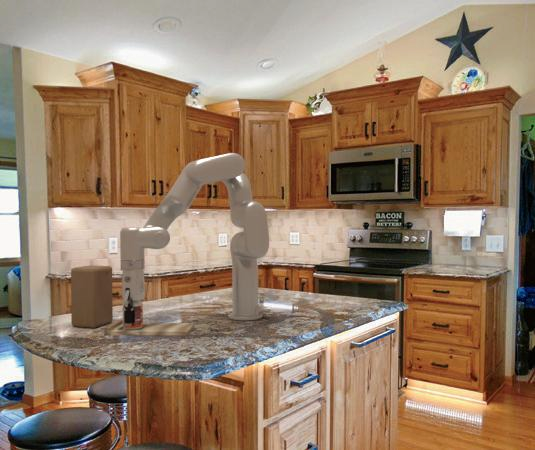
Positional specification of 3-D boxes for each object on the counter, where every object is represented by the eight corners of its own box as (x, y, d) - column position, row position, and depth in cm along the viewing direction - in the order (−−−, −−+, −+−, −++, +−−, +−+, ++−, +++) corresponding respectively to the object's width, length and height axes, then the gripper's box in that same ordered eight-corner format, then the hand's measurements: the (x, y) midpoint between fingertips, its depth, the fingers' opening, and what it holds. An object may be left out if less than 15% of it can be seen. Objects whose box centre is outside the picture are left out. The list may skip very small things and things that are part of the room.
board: (194, 326, 153) (194, 319, 153) (187, 335, 141) (187, 327, 141) (118, 326, 154) (117, 319, 154) (104, 335, 142) (104, 327, 142)
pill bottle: (145, 328, 147) (145, 293, 147) (126, 331, 144) (125, 295, 144) (139, 325, 152) (139, 291, 152) (120, 327, 149) (120, 293, 149)
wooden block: (113, 322, 161) (113, 265, 161) (94, 328, 151) (93, 268, 151) (90, 320, 164) (90, 265, 164) (70, 326, 154) (69, 267, 154)
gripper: (135, 268, 139) (136, 326, 139) (151, 262, 157) (152, 315, 157) (111, 268, 139) (112, 326, 140) (130, 263, 157) (130, 315, 157)
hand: (133, 320), depth 148 cm, fingers closed on pill bottle, 6 cm apart
